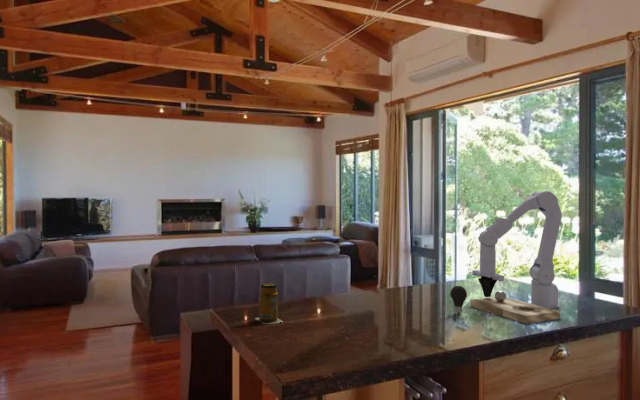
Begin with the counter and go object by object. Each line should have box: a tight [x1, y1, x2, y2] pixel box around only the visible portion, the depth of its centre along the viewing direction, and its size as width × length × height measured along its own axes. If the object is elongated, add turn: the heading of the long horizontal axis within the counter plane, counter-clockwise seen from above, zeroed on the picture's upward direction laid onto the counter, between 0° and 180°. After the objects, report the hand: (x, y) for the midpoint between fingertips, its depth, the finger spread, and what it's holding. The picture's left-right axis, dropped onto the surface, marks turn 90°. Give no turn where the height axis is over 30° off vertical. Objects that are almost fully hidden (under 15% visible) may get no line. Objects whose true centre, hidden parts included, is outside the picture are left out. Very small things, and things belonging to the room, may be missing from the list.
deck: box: [470, 296, 561, 325], centre depth 167 cm, size 16×26×2 cm, turn 24°
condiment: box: [254, 282, 284, 325], centre depth 153 cm, size 7×8×12 cm
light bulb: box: [450, 285, 468, 315], centre depth 164 cm, size 6×6×10 cm
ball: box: [494, 290, 507, 302], centre depth 172 cm, size 4×4×4 cm
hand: (487, 296), depth 178 cm, fingers closed
